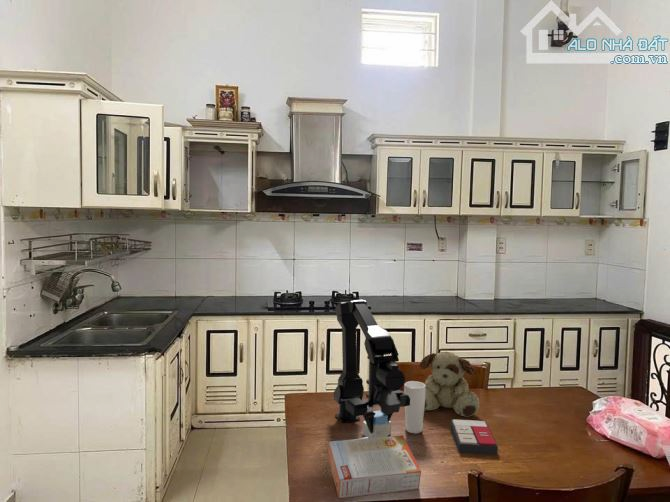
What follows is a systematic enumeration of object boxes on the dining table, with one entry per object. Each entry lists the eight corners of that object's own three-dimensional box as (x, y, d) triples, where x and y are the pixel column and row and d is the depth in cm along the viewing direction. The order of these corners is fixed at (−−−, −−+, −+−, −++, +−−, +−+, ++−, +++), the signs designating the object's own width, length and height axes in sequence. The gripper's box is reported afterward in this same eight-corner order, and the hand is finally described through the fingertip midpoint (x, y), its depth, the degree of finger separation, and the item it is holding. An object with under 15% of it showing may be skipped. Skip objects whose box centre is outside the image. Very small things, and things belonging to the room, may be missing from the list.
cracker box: (401, 452, 126) (327, 458, 122) (403, 434, 124) (328, 439, 120) (419, 491, 113) (337, 499, 108) (422, 471, 111) (338, 478, 107)
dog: (409, 410, 161) (411, 355, 159) (420, 392, 178) (422, 342, 177) (478, 422, 152) (480, 363, 151) (482, 402, 169) (484, 349, 168)
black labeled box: (459, 442, 131) (450, 417, 146) (458, 456, 131) (450, 429, 146) (498, 444, 130) (485, 419, 145) (497, 458, 130) (485, 431, 145)
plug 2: (362, 433, 142) (362, 421, 142) (384, 428, 146) (384, 416, 145) (369, 439, 138) (369, 426, 138) (391, 434, 142) (391, 421, 142)
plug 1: (368, 439, 131) (368, 412, 131) (379, 436, 133) (380, 410, 132) (376, 446, 127) (377, 419, 126) (388, 443, 129) (389, 416, 128)
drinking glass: (424, 436, 141) (425, 389, 140) (402, 434, 142) (403, 387, 141) (424, 426, 147) (425, 381, 146) (403, 424, 149) (404, 380, 148)
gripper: (364, 393, 118) (363, 451, 119) (422, 382, 126) (421, 437, 127) (344, 379, 128) (344, 433, 129) (399, 370, 136) (398, 421, 137)
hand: (377, 431), depth 130 cm, fingers closed on plug 1, 4 cm apart
